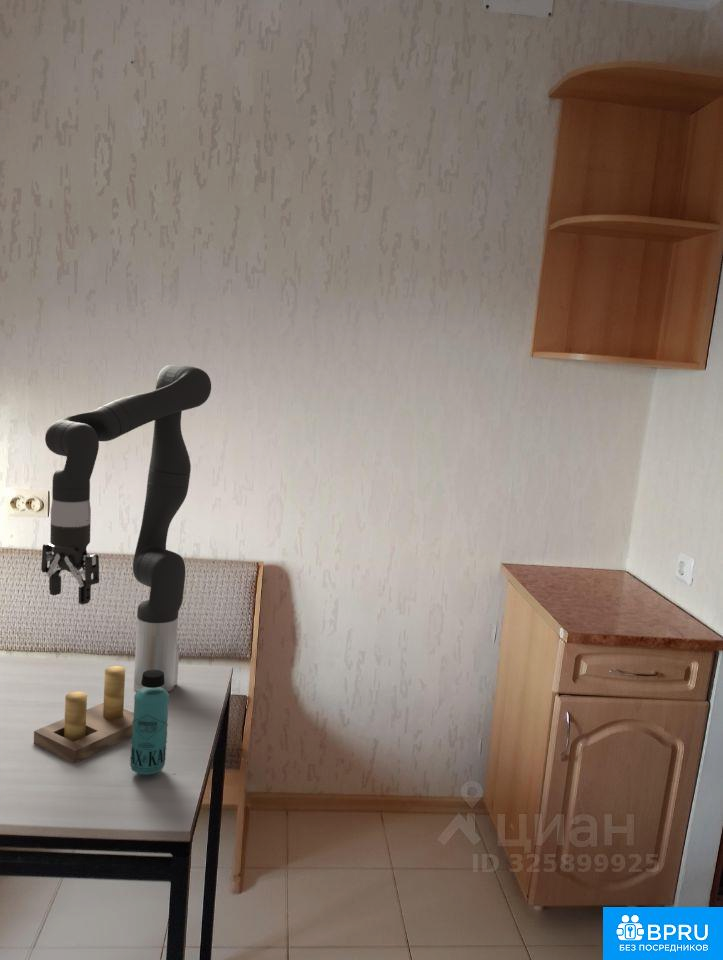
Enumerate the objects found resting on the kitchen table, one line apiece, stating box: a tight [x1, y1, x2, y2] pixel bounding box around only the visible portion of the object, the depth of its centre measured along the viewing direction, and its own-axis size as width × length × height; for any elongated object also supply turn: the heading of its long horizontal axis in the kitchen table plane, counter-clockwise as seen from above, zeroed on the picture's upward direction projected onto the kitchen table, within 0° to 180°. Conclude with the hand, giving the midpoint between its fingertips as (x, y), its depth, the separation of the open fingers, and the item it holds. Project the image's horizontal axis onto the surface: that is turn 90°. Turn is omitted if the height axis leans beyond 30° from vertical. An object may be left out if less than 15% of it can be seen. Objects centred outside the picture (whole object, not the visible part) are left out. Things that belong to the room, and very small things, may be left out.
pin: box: [64, 690, 88, 742], centre depth 156 cm, size 4×4×10 cm
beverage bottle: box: [129, 670, 170, 775], centre depth 147 cm, size 6×7×20 cm
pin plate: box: [33, 665, 134, 764], centre depth 159 cm, size 18×12×12 cm, turn 149°
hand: (69, 598), depth 161 cm, fingers open, 8 cm apart
